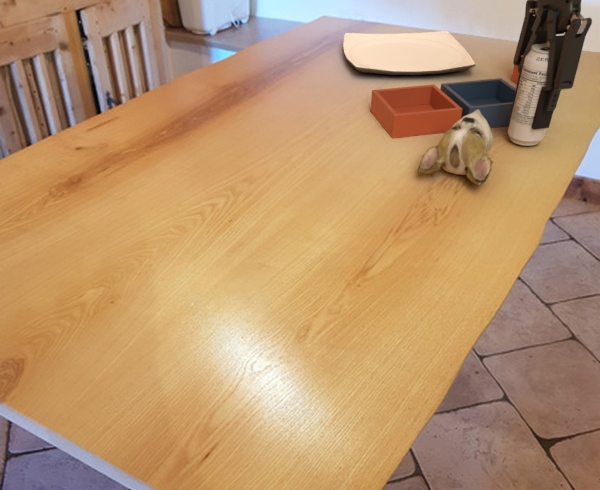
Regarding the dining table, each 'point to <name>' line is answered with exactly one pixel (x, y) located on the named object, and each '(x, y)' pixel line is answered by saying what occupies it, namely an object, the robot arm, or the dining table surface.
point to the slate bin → (483, 99)
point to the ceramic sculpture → (462, 150)
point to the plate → (406, 53)
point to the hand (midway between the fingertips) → (529, 119)
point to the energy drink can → (529, 97)
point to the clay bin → (414, 110)
